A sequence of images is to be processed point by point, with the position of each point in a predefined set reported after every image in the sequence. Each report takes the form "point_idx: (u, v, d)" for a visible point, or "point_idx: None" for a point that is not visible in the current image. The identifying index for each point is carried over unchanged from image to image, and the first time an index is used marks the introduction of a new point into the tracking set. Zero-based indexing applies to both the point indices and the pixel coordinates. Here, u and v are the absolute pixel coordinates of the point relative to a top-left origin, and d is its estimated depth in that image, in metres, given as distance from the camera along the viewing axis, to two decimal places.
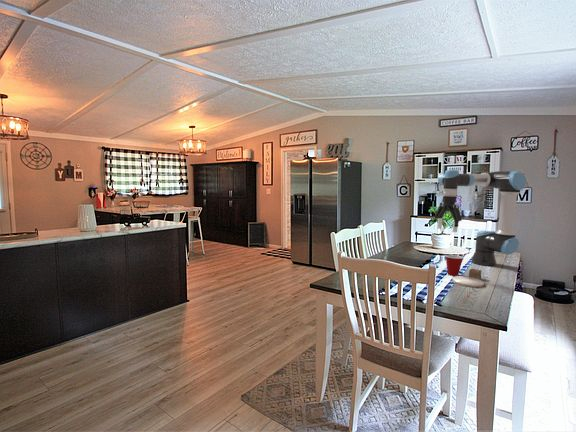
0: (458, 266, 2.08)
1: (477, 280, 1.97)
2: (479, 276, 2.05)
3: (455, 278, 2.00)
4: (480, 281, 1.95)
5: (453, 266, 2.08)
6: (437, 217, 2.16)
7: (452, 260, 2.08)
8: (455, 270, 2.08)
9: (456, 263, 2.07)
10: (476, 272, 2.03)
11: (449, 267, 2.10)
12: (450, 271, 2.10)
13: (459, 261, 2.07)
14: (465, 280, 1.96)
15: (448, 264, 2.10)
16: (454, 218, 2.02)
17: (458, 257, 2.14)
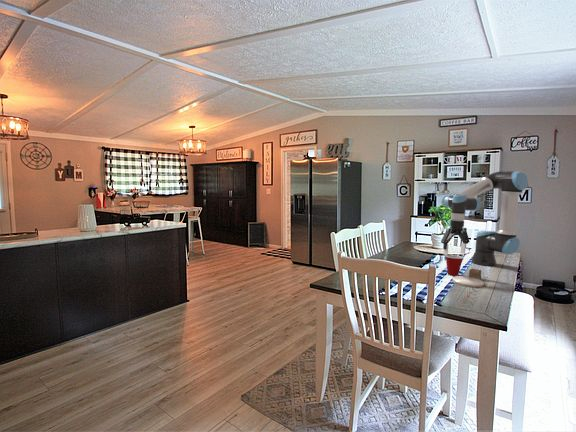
0: (458, 266, 2.08)
1: (477, 280, 1.97)
2: (479, 276, 2.05)
3: (455, 278, 2.00)
4: (480, 281, 1.95)
5: (453, 266, 2.08)
6: (463, 242, 2.14)
7: (452, 260, 2.08)
8: (455, 270, 2.08)
9: (456, 263, 2.07)
10: (476, 272, 2.03)
11: (449, 267, 2.10)
12: (450, 271, 2.10)
13: (459, 261, 2.07)
14: (465, 280, 1.96)
15: (448, 264, 2.10)
16: None
17: (458, 257, 2.14)
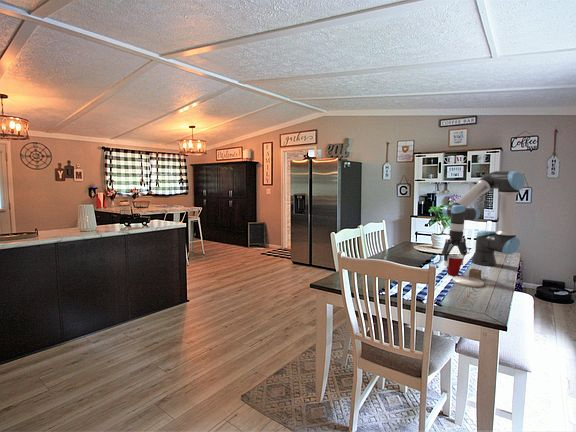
0: (458, 266, 2.08)
1: (477, 280, 1.97)
2: (479, 276, 2.05)
3: (455, 278, 2.00)
4: (480, 281, 1.95)
5: (453, 266, 2.08)
6: (461, 253, 2.14)
7: (452, 260, 2.08)
8: (455, 270, 2.08)
9: (456, 263, 2.07)
10: (476, 272, 2.03)
11: (449, 267, 2.10)
12: (450, 271, 2.10)
13: (459, 261, 2.07)
14: (465, 280, 1.96)
15: None
16: None
17: (458, 257, 2.14)
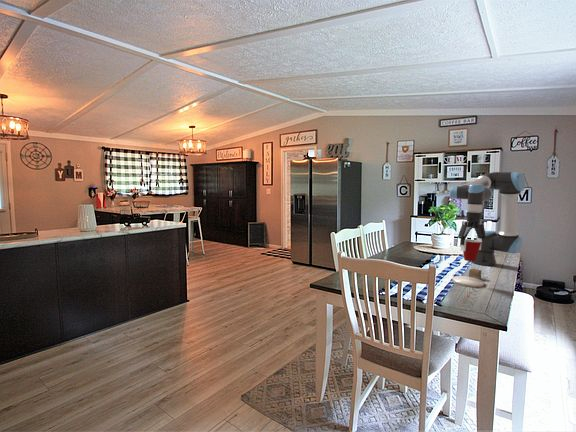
0: (476, 251, 1.91)
1: (477, 280, 1.97)
2: (479, 276, 2.05)
3: (455, 278, 2.00)
4: (480, 281, 1.95)
5: (470, 251, 1.91)
6: None
7: (470, 244, 1.90)
8: (473, 255, 1.91)
9: (474, 247, 1.90)
10: (476, 272, 2.03)
11: (466, 251, 1.93)
12: (467, 256, 1.93)
13: (477, 245, 1.90)
14: (465, 280, 1.96)
15: None
16: None
17: (475, 241, 1.97)
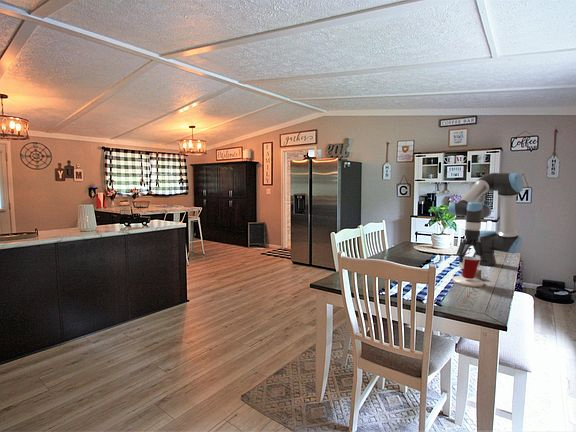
0: (474, 268, 1.92)
1: (477, 280, 1.97)
2: (479, 276, 2.05)
3: (455, 278, 2.00)
4: (480, 281, 1.95)
5: (469, 268, 1.92)
6: (477, 254, 1.99)
7: (468, 261, 1.92)
8: (471, 272, 1.93)
9: (472, 264, 1.91)
10: (476, 272, 2.03)
11: (465, 269, 1.94)
12: (465, 273, 1.94)
13: (475, 263, 1.91)
14: (465, 280, 1.96)
15: (464, 266, 1.94)
16: None
17: (474, 258, 1.98)
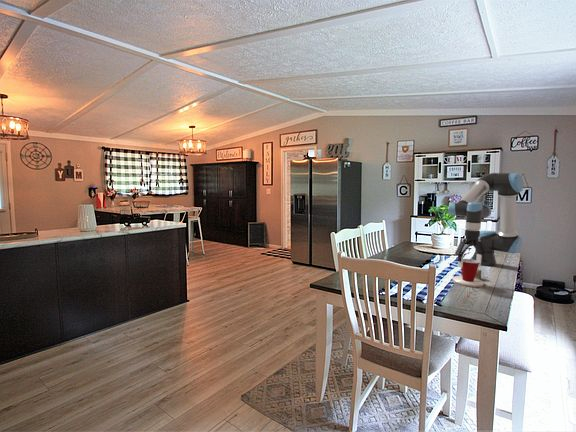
0: (474, 271, 1.92)
1: (477, 280, 1.97)
2: (479, 276, 2.05)
3: (455, 278, 2.00)
4: (480, 281, 1.95)
5: (469, 271, 1.92)
6: None
7: (468, 264, 1.92)
8: (471, 275, 1.93)
9: (472, 267, 1.91)
10: (476, 272, 2.03)
11: (464, 272, 1.94)
12: (465, 276, 1.94)
13: (475, 266, 1.91)
14: None
15: (464, 269, 1.94)
16: None
17: (474, 261, 1.98)
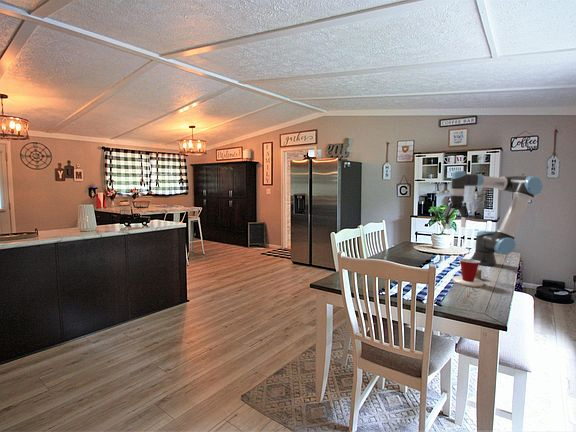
0: (474, 271, 1.92)
1: (477, 280, 1.97)
2: (479, 276, 2.05)
3: (455, 278, 2.00)
4: (480, 281, 1.95)
5: (469, 271, 1.93)
6: None
7: (468, 264, 1.92)
8: (471, 275, 1.93)
9: (472, 267, 1.92)
10: (476, 272, 2.03)
11: (464, 271, 1.94)
12: (465, 276, 1.94)
13: (475, 266, 1.91)
14: None
15: (464, 269, 1.94)
16: None
17: (474, 261, 1.98)
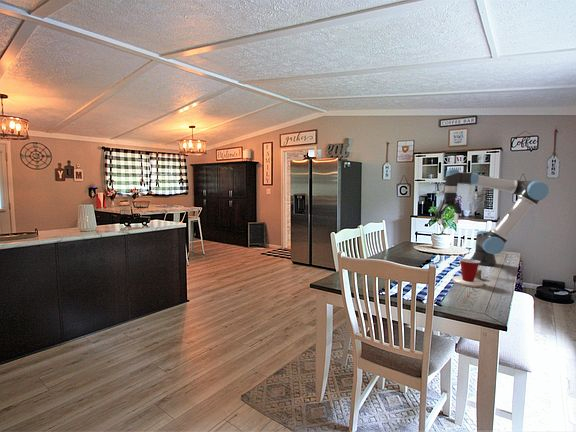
0: (474, 271, 1.92)
1: (477, 280, 1.97)
2: (479, 276, 2.05)
3: (455, 278, 2.00)
4: (480, 281, 1.95)
5: (469, 271, 1.93)
6: None
7: (468, 264, 1.92)
8: (471, 275, 1.93)
9: (472, 267, 1.92)
10: (476, 272, 2.03)
11: (464, 272, 1.94)
12: (465, 276, 1.94)
13: (475, 266, 1.91)
14: None
15: (464, 269, 1.94)
16: None
17: (474, 261, 1.98)
